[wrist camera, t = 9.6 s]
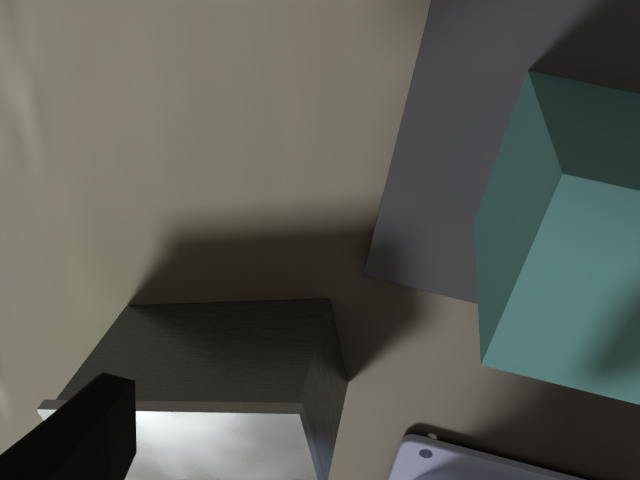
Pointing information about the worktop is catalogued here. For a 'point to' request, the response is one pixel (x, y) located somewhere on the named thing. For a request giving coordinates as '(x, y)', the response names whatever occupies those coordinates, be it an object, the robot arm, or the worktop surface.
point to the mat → (481, 121)
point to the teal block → (564, 240)
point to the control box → (226, 388)
